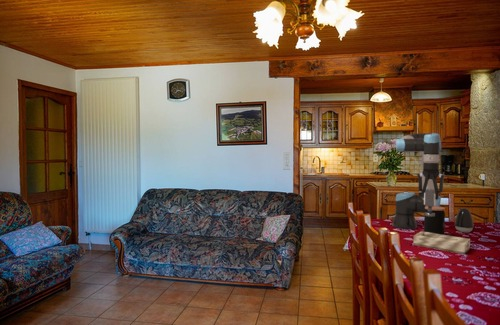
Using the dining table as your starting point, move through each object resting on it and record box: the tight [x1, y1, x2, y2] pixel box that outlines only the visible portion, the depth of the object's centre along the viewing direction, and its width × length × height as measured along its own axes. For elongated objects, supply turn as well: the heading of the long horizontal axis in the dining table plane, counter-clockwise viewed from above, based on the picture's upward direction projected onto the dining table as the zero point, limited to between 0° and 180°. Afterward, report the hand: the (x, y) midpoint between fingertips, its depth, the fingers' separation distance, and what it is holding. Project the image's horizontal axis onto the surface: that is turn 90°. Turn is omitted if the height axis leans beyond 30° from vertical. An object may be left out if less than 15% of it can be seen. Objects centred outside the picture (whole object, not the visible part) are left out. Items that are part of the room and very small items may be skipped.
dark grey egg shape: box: [454, 207, 474, 233], centre depth 211 cm, size 10×10×15 cm
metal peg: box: [425, 189, 435, 217], centre depth 181 cm, size 5×5×14 cm
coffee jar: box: [423, 206, 446, 235], centre depth 197 cm, size 11×11×18 cm
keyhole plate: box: [412, 230, 471, 255], centre depth 178 cm, size 24×14×5 cm, turn 47°
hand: (430, 204), depth 182 cm, fingers closed on metal peg, 4 cm apart
